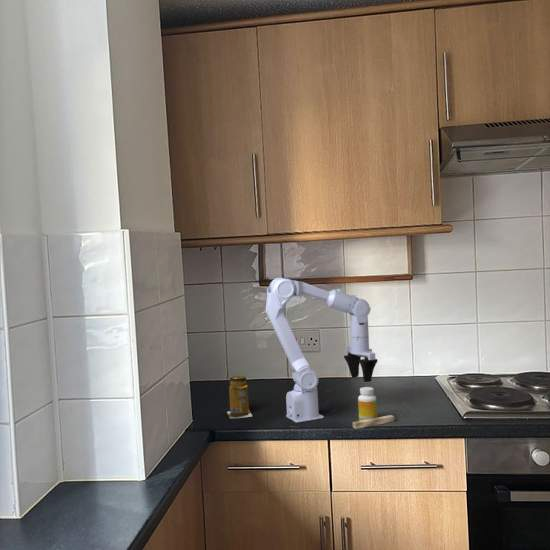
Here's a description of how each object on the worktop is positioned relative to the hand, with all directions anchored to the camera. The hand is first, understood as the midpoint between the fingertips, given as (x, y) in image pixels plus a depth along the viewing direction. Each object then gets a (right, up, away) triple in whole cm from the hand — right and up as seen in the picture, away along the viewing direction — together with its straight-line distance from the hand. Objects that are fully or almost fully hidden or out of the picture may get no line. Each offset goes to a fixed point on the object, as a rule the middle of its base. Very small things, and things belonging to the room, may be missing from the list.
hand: (361, 379), depth 180 cm
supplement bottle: (+1, -11, -10) cm, 14 cm away
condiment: (-39, -12, +5) cm, 41 cm away
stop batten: (+2, -11, -14) cm, 17 cm away
